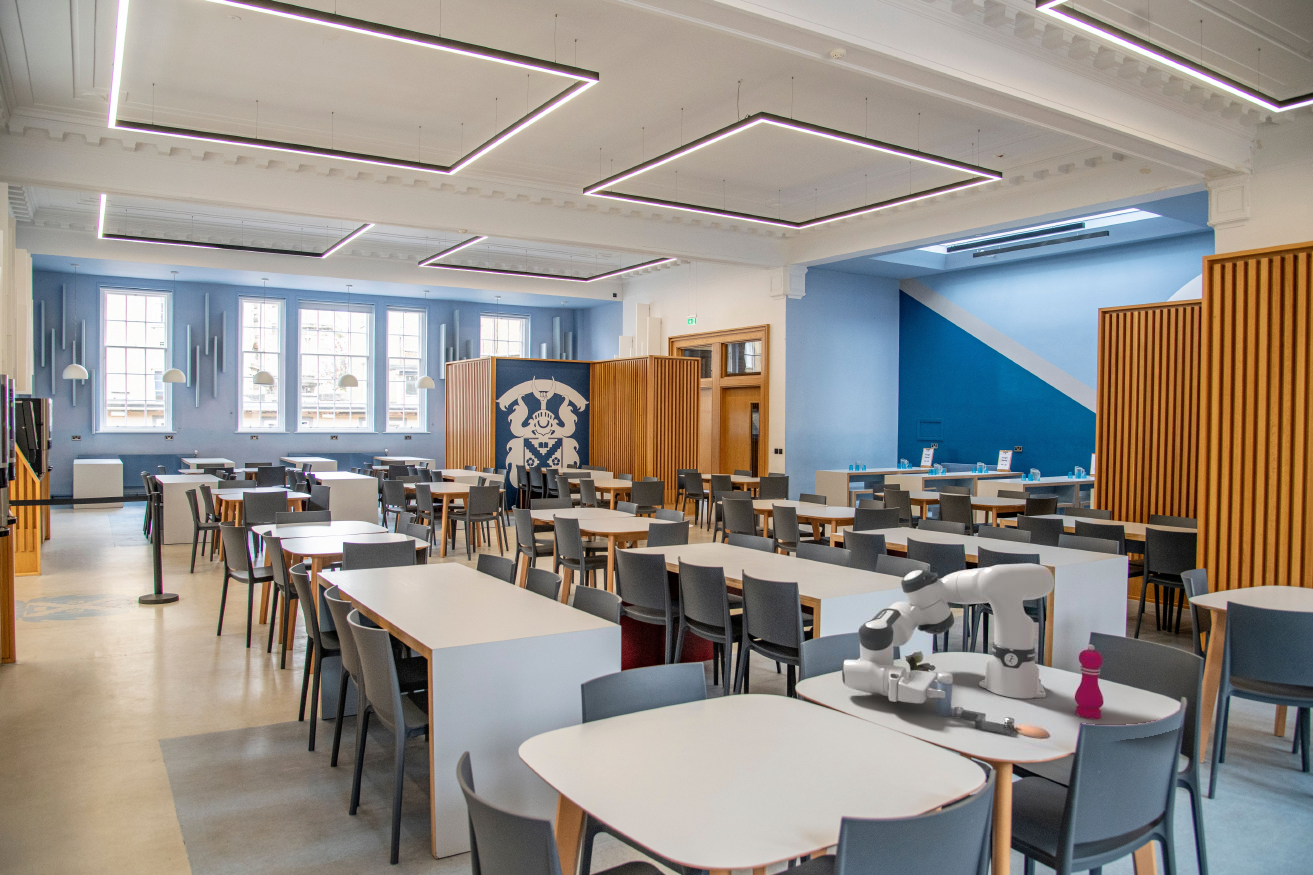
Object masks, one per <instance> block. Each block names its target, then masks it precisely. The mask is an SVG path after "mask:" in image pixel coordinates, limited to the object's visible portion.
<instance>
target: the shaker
mask: <svg viewBox="0 0 1313 875" xmlns="http://www.w3.org/2000/svg"><path fill="white" fill-rule="evenodd" d="M953 676H954V675H953V674H952V673H949V672H943V671H942V672H937V681H938V686H937V689H936V690H939V689H940V690H945V691H946V696H945V698H940V697H936V714H937V715H939V716H941V717H942V716H943V717H950V716H951V715H952V699H953V698H952V696H953V694H952V692H953V679H954V678H953Z"/></svg>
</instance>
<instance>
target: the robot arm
mask: <svg viewBox="0 0 1313 875" xmlns="http://www.w3.org/2000/svg"><path fill="white" fill-rule="evenodd" d="M900 582H901V588H902V591H903V593H904V594H905V597H906V599H907V601H908V602H907V601H903V600H902V601H901V600H900V601H896V602H894V603H892V604H891V605H890V606H889V607H887V608H883V609H881V610H880V611H878V613H876V615H875V616H874V617H872V619H870V620H869V621H865V622H864V623H863V624H862V625H860V627H859V628H858V630H857V631H858V632H857V633H858V639H859V654H860V655H859V656H860V657H859V658H858V659H845V660H844V661H842V662H843V663H842V666H841V667H842V668H841V671H842V672H841V676H842V677H841V678H842V683H843V685H844V686H845V687H847V688H850V689H851V690H856V691H859V692H864V693H869V694H880V695H881V696H885V697H888V700H889V701H890V702H894V703H897V702H898V701H899V702H903V703H911V704H923V703H924V702H925V701H926V700H927V698H937V697H940V698H945V696H946V691H945V690H940V689H939V690H937V686H938V681H937V676H938V673H935V672H933V671H932V672H931V671H929V672H927V671H919V670H912V671H910V670H909V671H908V672H907V668H906V667H905V666H899V665H894V664H895V663H894V647H902V646H904V645H906V644H907V643H908V642H909V641H910V640H911V638H912V636H913V635H914V632H915V629H917V630H918V631H920V632H925V633H927V634H931V635H940V634H943V633H945V632H947V631H949V630H950V629H951V628H952V627H953V626H954V624H955V617H954V614H953V611H951V608H950V606H949V604H948V603H953V604H960V605H974V604H975V605H976V604H987V603H988V604H990V607H991V609H992V613H993V619H994V630H993V631H994V635H993V636H994V638H993V639H994V641H993V642H992V645H991V656H990V658H988V659H987V660H986V665H985V677H984V679H982V680H981V681H979V682H978V686H979V687H981V688H983V689H985V690H988V691H990V693H991V692H992V693H993V694H996V695H999V696H1004V697H1008V698H1015V699H1033V698H1034V697H1035V698H1046V697H1047V694H1046V691H1045V688H1044V686H1043V684H1042V682H1041V678H1040V668H1039V666H1038V665H1037V664H1036V662H1035V659H1036V648H1035V646H1034V643H1035V642H1034V641H1035V622H1034V620H1033V618H1031V617H1030V616H1029V615H1028V614H1027V613H1026V611H1025V608H1024V601H1030V600H1037V599H1040V598H1044V597H1047V596H1049V595H1050V594H1051V592H1053V590H1054V587H1055V578H1054V575H1053V573H1052V572H1051V570H1050V569H1049V568H1048V567H1047V566H1044V565H1041V564H1036V563H1030V562H1028V563H1009V564H1007V563H1006V564H1005V563H1004V564H995V565H992V566H988V567H987V566H986V567H980V568H979V567H977V568H972V569H963V570H962V569H961V570H957V571H955V572H951V573H949V574H946V575H945V576H943V577H941V578H939V574H938V573H937V572H931V571H929V570H925V569H918V570H917V569H915V570H913V571H909V573H907V574H906V575H905V576H904V577H903V578H902V580H901V581H900Z"/></svg>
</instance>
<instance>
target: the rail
mask: <svg viewBox="0 0 1313 875" xmlns="http://www.w3.org/2000/svg"><path fill="white" fill-rule="evenodd" d="M953 707H954V711H953V712H954V713H953V717H954V718H956V719H963V720H969V721H973V722H974V728H975V729H978V730H982V731H987V732H992V733H996V734H997V733H998V734H1003V735H1006V736H1011V733H1012V730H1015V718H1013V717H1011V716H1010V717H1009V716H1006V717H1004V724H1003V723H998V722H995V721H994V722H993V721H988V720H986V716H987V714H986V713H985V712H979V711H974V710H969V709H964V707H962V706H953Z"/></svg>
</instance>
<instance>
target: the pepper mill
mask: <svg viewBox="0 0 1313 875" xmlns="http://www.w3.org/2000/svg"><path fill="white" fill-rule="evenodd" d="M1078 661H1079V663H1080V664H1081V665H1080V670H1079V671H1080V672H1081V680H1080V683H1079V686H1078V688H1076V691H1075V693H1074V701H1075V703H1076V704H1077V706H1075V713H1077V714H1078V716H1079V715H1080V717H1081V716H1083V717H1082V718H1085V717H1087V718H1086V719H1090V718H1092V719H1091V720H1099V719H1101V717H1102V710H1101V708H1102V707H1103V705H1104V695H1103V693H1102V691H1101V689H1100V685H1099V675H1101V668H1100V667H1101V666H1102V665H1103V656H1102V654H1101V653H1100V652H1098V651H1097V650H1096V649H1095V646H1094V645H1093V644H1088V645H1087V649H1084V650H1082V651H1081V652H1079V655H1078ZM1077 714H1076V715H1077Z"/></svg>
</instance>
